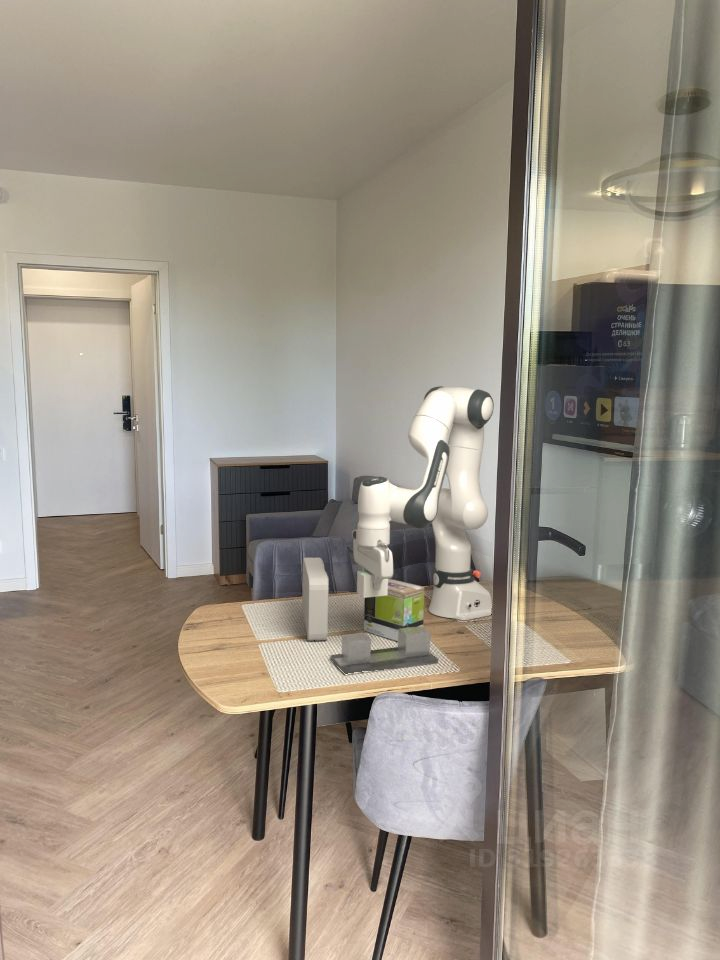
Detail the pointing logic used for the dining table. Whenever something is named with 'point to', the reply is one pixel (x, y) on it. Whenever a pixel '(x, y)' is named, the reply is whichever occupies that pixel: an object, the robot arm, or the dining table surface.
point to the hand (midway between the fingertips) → (372, 586)
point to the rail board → (385, 652)
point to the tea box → (394, 609)
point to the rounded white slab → (315, 599)
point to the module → (370, 585)
